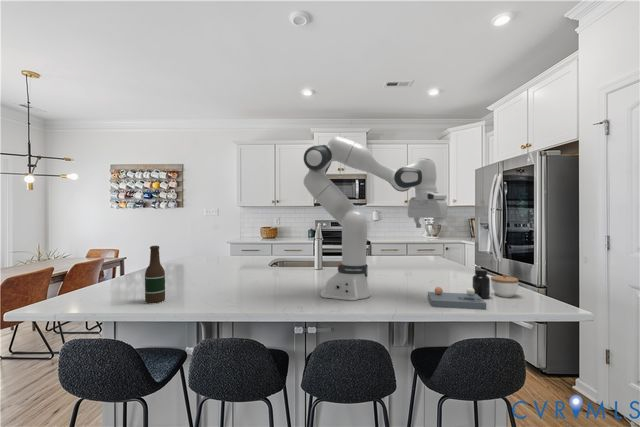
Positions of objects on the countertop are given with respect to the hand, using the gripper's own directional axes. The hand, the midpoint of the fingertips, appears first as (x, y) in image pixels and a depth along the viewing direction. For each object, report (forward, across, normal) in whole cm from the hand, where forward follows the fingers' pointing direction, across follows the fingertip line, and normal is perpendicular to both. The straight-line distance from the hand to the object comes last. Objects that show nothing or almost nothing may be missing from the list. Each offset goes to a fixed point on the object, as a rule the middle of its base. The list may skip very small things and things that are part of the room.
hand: (426, 228), depth 140 cm
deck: (+31, +10, +5) cm, 33 cm away
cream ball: (+27, +11, +13) cm, 32 cm away
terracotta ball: (+26, +4, +2) cm, 27 cm away
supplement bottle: (+31, +9, +23) cm, 39 cm away
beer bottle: (+29, -51, -106) cm, 121 cm away
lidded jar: (+31, +12, +34) cm, 48 cm away
